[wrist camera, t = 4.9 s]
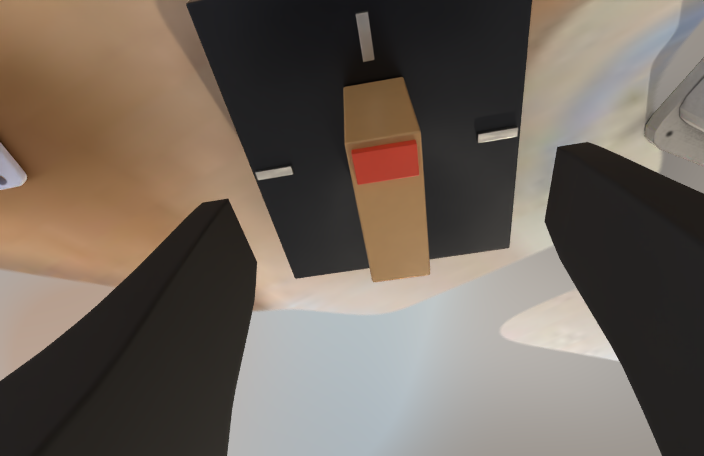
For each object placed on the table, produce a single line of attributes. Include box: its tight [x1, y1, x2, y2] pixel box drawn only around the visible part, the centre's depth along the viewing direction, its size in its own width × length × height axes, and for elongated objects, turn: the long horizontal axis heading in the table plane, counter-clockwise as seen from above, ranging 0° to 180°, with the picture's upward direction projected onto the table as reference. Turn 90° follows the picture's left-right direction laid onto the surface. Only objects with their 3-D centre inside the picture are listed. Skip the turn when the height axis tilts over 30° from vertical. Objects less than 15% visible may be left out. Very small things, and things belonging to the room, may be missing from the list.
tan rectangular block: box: [343, 77, 430, 282], centre depth 14 cm, size 6×2×4 cm, turn 10°
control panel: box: [186, 0, 532, 279], centre depth 17 cm, size 10×12×3 cm
